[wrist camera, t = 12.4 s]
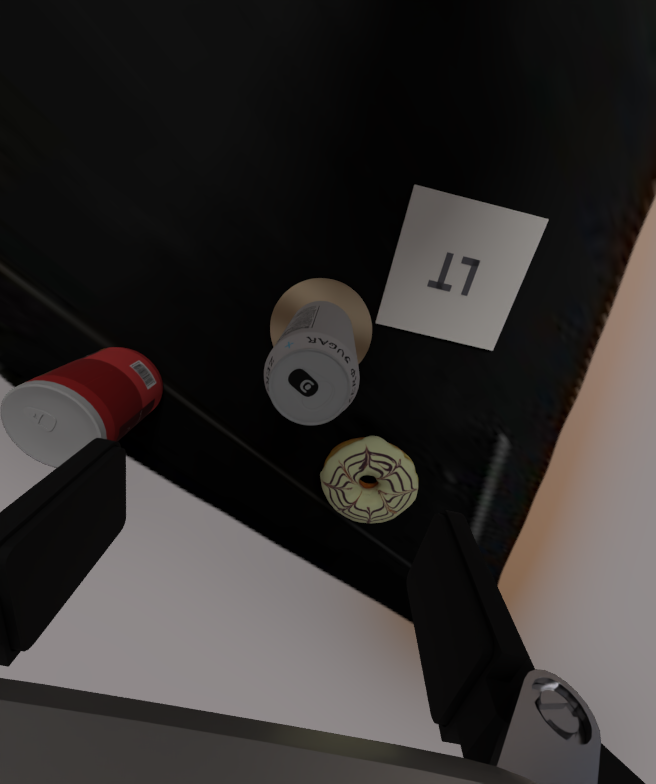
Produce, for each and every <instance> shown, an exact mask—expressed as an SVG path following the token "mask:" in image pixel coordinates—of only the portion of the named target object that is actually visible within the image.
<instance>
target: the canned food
mask: <svg viewBox="0 0 656 784" xmlns="http://www.w3.org/2000/svg"><path fill="white" fill-rule="evenodd" d="M162 393H163V382H162V378H161V375H160V373H159V371H158V370H157V368H156V367H155V365H154V364H153V363H152V362H151V361H150V360H149V359H148V358H146V357H145V356H144V355H142V354H140V353H139V352H137V351H134V350H131V349H128V348H122V347H110V348H105V349H102V350H99V351H97V352H95V353H92V354H90V355H88V356H85V357H83V358H80V359H78V360H76V361H73V362H71V363H69V364H66V365H64V366H62V367H59V368H57V369H54V370H52V371H50V372H47V373H45V374H43V375H40V376H38V377H36V378H34V379H31V380H29V381H27V382H25V383H23V384H21V385H18V386H17V387H16V388H14V389H12V390H11V391H10V392H8V393H7V394H6V396H5V398H4V399H3V401H2V405H1V419H2V423H3V425H4V428H5V430H6V432H7V434H8V435H9V437H10V438H11V439H12V441H13V442H14V443H15V444H16V445H17V446H18V447H19V448H20V449H21V450H22V451H23V452H25V453H26V454H27V455H29V456H30V457H32V458H33V459H35V460H37V461H39V462H41V463H43V464H45V465H48V466H52V467H55V468H58V467H59V466H60V465H61V464H63V463H64V462H65V461H67V460H68V459H69V458H70V457H72V456H73V455H74V454H76V453H77V452H78V451H79V450H81V449H82V448H83V447H84V446H86V445H87V444H88V443H90V442H91V441H92V440H93V439H95V438H103V439H107V440H112V441H119V440H120V439H121V438H122V437H123V436H124V435H125V434H126V433H128V432H129V431H130V430H131V429H132V428H133V427H134V426H136V425H137V424H138V423H139V422H140V421H141V420H142V419H143V418H145V417H146V416H147V415H148V414H149V413H150V412H151V411H153V410H154V409H155V408H156V406H157V405H158V404H159V402H160V399H161V397H162Z"/></svg>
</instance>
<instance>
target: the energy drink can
mask: <svg viewBox="0 0 656 784" xmlns="http://www.w3.org/2000/svg"><path fill="white" fill-rule="evenodd" d="M359 380H360V376H359V367H358V360H357V354H356V347H355V341H354V334H353V328H352V324H351V321H350V319H349V317H348V315H347V314H346V313H345V311H344V310H343V309H341V308H340V307H339V306H337V305H335V304H334V303H331V302H327V301H314V302H311V303H308V304H306V305H304V306H303V307H301V308H300V309H299V310H298V311H297V312H296V314H295V315H294V317H293V318H292V320H291V321H290V323H289V324H288V326H287V327H286V329H285V330H284V332H283V334H282V335H281V337H280V338H279V340H278V341H277V343H276V344H275V346H274V347H273V349H272V351H271V352H270V354H269V356H268V358H267V360H266V363H265V368H264V382H265V387H266V390H267V392H268V394H269V396H270V398H271V400H272V403H273V405H274V406H275V408H276V409H277V410H278V411H279V412H280V413H281V414H282V415H283V416H284V417H286V418H287V419H289V420H291V421H293V422H295V423H298V424H302V425H320V424H323V423H327V422H329V421H331V420H333V419H334V418H336V417H337V416H338V415H339V414H340V413H341V412H342V411H344V410H345V409H346V408H347V407H348V406H349V405H350V404H351V403H352V401H353V399H354V398H355V396H356V393H357V390H358V388H359Z"/></svg>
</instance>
